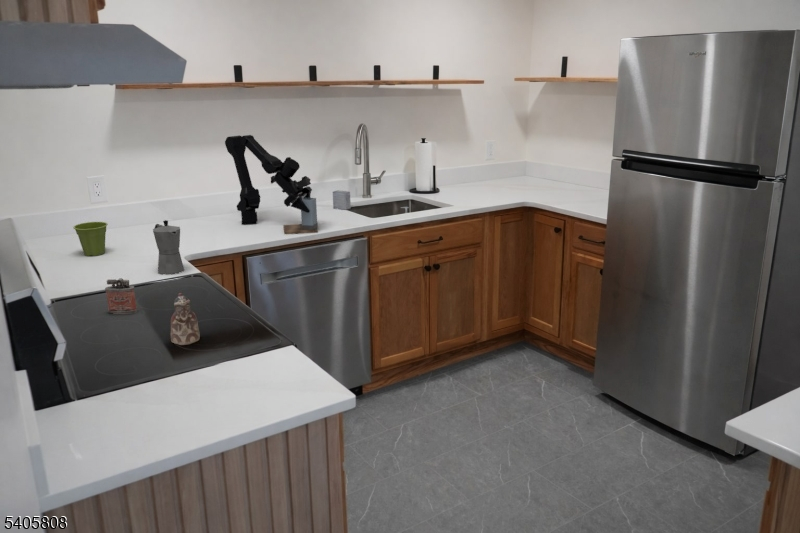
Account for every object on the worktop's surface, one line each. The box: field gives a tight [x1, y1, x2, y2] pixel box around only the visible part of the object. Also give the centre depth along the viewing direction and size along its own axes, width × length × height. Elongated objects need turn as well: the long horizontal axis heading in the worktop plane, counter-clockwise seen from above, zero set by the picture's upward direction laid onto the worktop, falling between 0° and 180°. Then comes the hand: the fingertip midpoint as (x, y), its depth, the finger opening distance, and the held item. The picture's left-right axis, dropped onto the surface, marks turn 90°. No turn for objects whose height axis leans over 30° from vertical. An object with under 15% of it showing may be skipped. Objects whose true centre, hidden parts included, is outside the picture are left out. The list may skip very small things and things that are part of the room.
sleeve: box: [300, 197, 319, 230], centre depth 281 cm, size 5×5×13 cm
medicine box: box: [332, 189, 352, 211], centre depth 327 cm, size 8×4×9 cm, turn 58°
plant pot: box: [72, 221, 108, 257], centre depth 249 cm, size 12×12×11 cm
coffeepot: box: [152, 219, 185, 275], centre depth 227 cm, size 15×9×18 cm, turn 44°
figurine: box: [170, 292, 201, 346], centre depth 169 cm, size 7×7×12 cm
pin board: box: [282, 223, 319, 235], centre depth 284 cm, size 14×13×5 cm
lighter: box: [104, 277, 138, 315], centre depth 189 cm, size 8×3×10 cm, turn 92°
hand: (312, 210), depth 280 cm, fingers open, 6 cm apart
